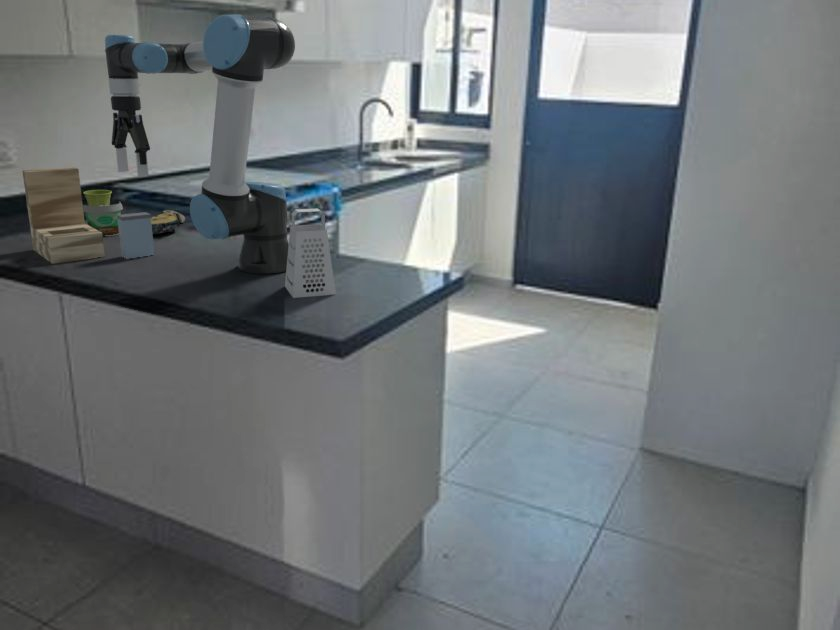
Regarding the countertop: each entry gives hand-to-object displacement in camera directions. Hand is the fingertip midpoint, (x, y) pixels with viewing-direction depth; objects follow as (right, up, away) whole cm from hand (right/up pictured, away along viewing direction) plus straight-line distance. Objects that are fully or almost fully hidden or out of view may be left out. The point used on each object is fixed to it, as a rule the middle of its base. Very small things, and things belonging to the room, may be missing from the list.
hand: (133, 174), depth 213 cm
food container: (-19, -14, +29) cm, 38 cm away
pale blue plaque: (0, -23, +4) cm, 23 cm away
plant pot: (-34, -4, +59) cm, 68 cm away
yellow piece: (-5, -11, +40) cm, 42 cm away
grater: (+53, -34, -25) cm, 68 cm away
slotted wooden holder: (-21, -22, +6) cm, 31 cm away
